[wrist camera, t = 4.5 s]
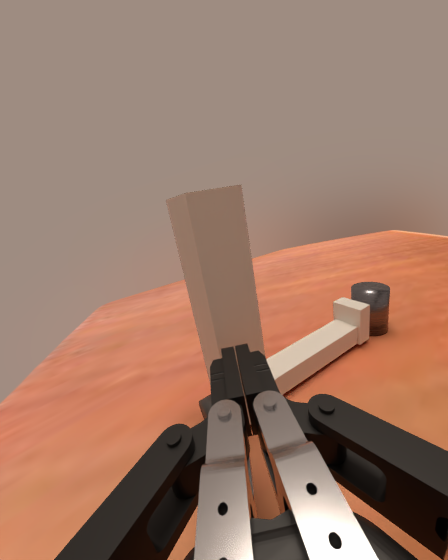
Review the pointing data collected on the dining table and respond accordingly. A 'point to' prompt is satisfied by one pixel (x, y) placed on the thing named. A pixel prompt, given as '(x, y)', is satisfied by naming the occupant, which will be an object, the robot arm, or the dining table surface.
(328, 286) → the dining table surface
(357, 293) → the post
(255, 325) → the beige l-shaped bracket
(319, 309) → the dining table surface
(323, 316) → the dining table surface
